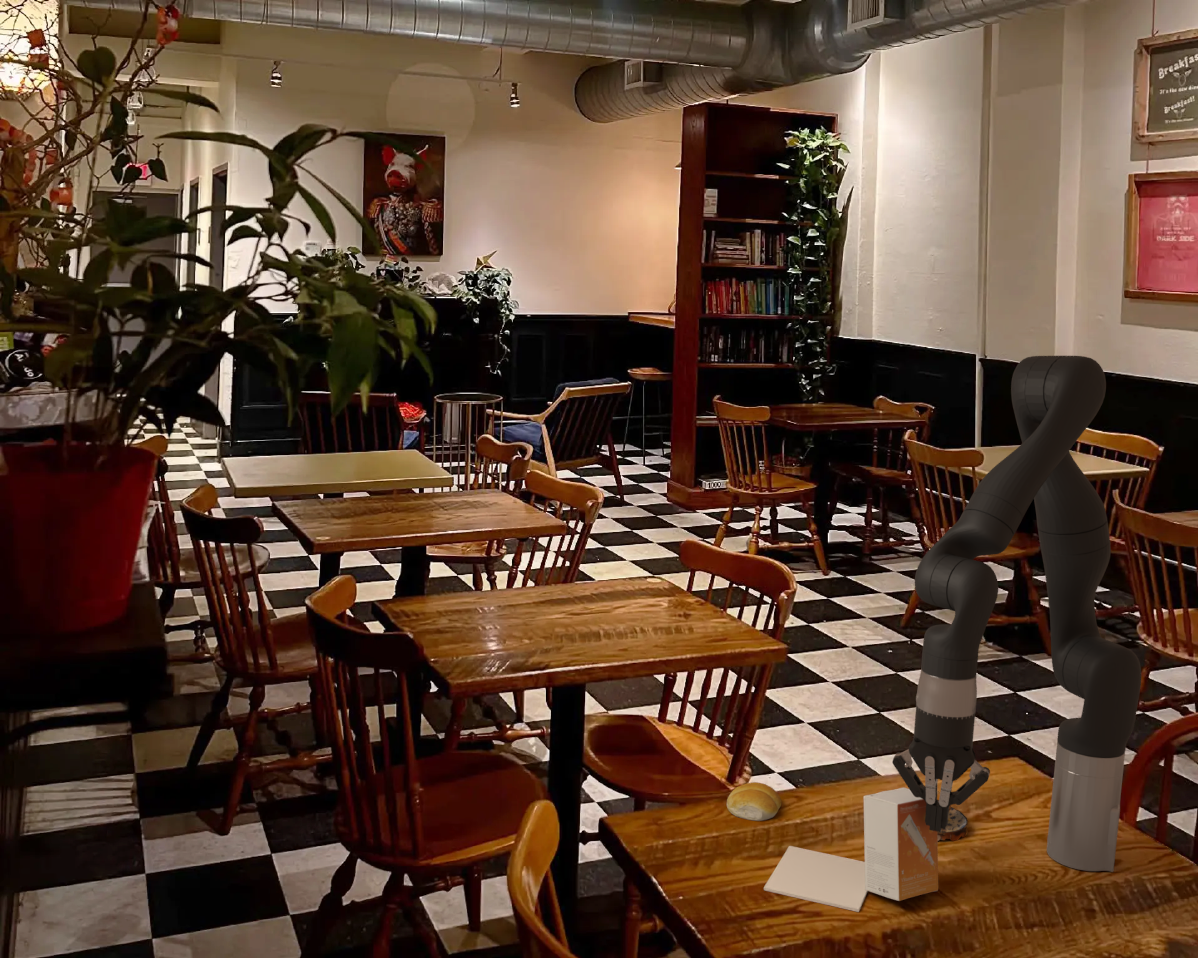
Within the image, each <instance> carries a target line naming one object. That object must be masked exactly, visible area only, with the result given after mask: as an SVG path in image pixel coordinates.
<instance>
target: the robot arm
mask: <svg viewBox="0 0 1198 958" xmlns="http://www.w3.org/2000/svg"><path fill="white" fill-rule="evenodd" d="M1011 377H1012V378H1011V383H1010V384H1011V385H1010V388H1011V389H1010V395H1011V404H1012V408H1013V413H1014V417H1015V421H1016V424H1017V428H1018V432H1019V436H1020V439H1021V440H1020V441H1021V444H1020V445H1019V446H1018V447H1017V448H1016V449H1015V450H1013V451H1012V452H1011V453H1010V454H1008V455H1007V456H1005V458H1003V459H1002V460H1001V461H1000V462H998V463H997V464H996V465H995V466H993V467H992V469H991V470H990V471H988V472H987V474H986V475H985V476H984V477H983V478H982V479H981V481H980V482H979V484H978V485H977V486H976V488H975V489H974V491H973V493H972V495H971V496H970V499H969V501H968V502H967V504H966V506H965V507H964V510H963V512H962V513H961V515H960V518H959V519H958V520H957V521H956V522H955V524H954V525H952V527H950V528H949V529H948V530H947V531H945V533H944V534H943V536H941V538H940V539H939V540H937V541H936V543H935V544H934V545H932V546H931V548H929V550H927V552H925V554H924V555H923V557H922V558H921V560H920V561H919V564H918V565H917V568H916V572H915V575H914V587H915V588H914V589H915V592H916V594H917V596H918V597H919V598H920V600H922V601H923V602H924V603H926V604H928V605H931V606H935V607H938V608H942V609H946V610H948V611H953V612H954V618H953V620H952V622H951V624H950V623H949V624H946V623H944V624H936V625H932V626H929V627H928V628H927V629H926V631H925V633H924V636H923V642H922V653H921V663H920V664H921V667H920V668H921V669H920V674H919V679H918V683H917V692H916V694H915V695H916V696H915V701H916V704H915V718H914V727H913V729H914V730H913V739H912V740H911V741H910V744H909V746H908V749H906V750H904V751H897V752H896V753H895V754H894V756H893V759H892V764H893V767H894V768H895V770H896V771H897V773H898V774H899V775H900V777H901V779H902V780H903V782H904V783H905V784H906V786H907V788H908V789H910V791H911V792H912V794H913V795H914V796H915V797H920V798H922V799H924V800H925V802H926V814H925V823H926V825H928V826H930V828H929V830H932V831H936V832H941V829H942V828H943V829H945V828H946V826H947V823H948V814H949V806H950V805H951V806H952V805H957V806H959V805H960V806H961V805H962V804H963V803H964V802H966V800H968V799H969V798H970V797H971V796H972V795H973V794H974V793H976V791H978V790H979V789H980V788H981V787H983V785H984V784H986V783H987V782H988V780H989V777H990V774H991V770H990V769H989V767H987V766H982V764H980V763H979V762H978V761H977V759H976V752H975V750H974V747H973V743H974V741H973V740H974V730H975V721H976V709H977V697H978V687H977V675H978V674H977V673H978V663H979V649H980V645H981V641H982V639H983V636H984V633H985V631H986V628H987V625H988V622H989V620H990V617H991V615H992V612H993V610H994V607H995V605H996V602H997V599H998V594H999V581H998V578H997V575H996V572H995V571H994V570H993V568H992V566H991V565H988V564H987V563H985V562H983V561H979V560H977V559H976V560H975V558H979V557H980V556H988V555H989V556H990V555H991V556H992V555H998V554H1001V553H1002V552H1004V551H1005V550H1006V549H1007V548H1008V546H1009V545H1010V543H1011V541H1012V539H1013V537H1014V536H1015V534H1016V532H1017V530H1018V528H1019V527H1020V524H1021V522H1022V520H1023V518H1024V516H1025V514H1026V513H1027V511H1028V509H1029V507H1030V506H1031V503H1032V502H1034V507H1035V508H1034V509H1035V514H1036V525H1037V526H1036V527H1037V532H1038V534H1037V535H1038V539H1039V545H1040V552H1041V557H1042V562H1043V568H1044V575H1045V585H1046V591H1047V600H1048V607H1049V620H1050V622H1049V623H1050V624H1049V625H1050V626H1049V627H1050V648H1051V649H1050V652H1051V665H1052V670H1053V671H1052V672H1053V674H1054V678H1055V679H1056V680H1057V683H1058V684H1059V685H1060V686H1061V687H1062V688H1063V689H1064V690H1065V691H1067V692H1068V693H1070V694H1073V695H1075V696H1076V697H1079V698H1081V699H1082V700H1083V706H1082V711H1081V715H1080V717H1071V718H1067V719H1065V720H1063V721H1061V723H1060V724H1059V726H1058V731H1057V737H1056V738H1057V741H1056V749H1055V751H1056V752H1055V759H1054V760H1055V762H1054V773H1053V781H1052V791H1051V802H1050V810H1049V811H1050V813H1049V823H1048V833H1047V839H1046V840H1047V843H1046V853H1047V855H1048V856H1049V857H1050V858H1051V859H1052V860H1053V861H1055V862H1057V863H1058V864H1061V865H1063V866H1065V867H1069V868H1071V869H1075V870H1078V871H1079V870H1081V871H1087V872H1101V871H1106V872H1112V873H1113V872H1114V870H1115V869H1114V868H1115V860H1116V850H1117V840H1118V832H1119V824H1120V823H1119V822H1120V814H1121V813H1120V812H1121V796H1122V795H1121V793H1122V786H1123V785H1122V783H1123V774H1124V769H1125V768H1124V765H1125V758H1126V757H1125V756H1126V749H1127V743H1128V741H1129V739H1130V738H1131V735H1132V733H1133V731H1134V727H1135V722H1136V718H1137V717H1136V716H1137V709H1138V705H1139V699H1140V695H1141V694H1140V693H1141V686H1142V668H1141V663H1140V659H1139V658H1138V656H1137V655H1136V653H1135V652H1133V650H1131V649H1130V648H1127V647H1125V646H1124V645H1121V644H1119V643H1116V642H1113V641H1111V640H1108V639H1105V638H1103V637H1102V636H1101V634H1100V631H1099V627H1098V624H1097V618H1096V609H1095V608H1096V607H1095V600H1096V599H1095V598H1096V593H1097V590H1098V587H1099V585H1100V583H1101V581H1102V579H1103V577H1104V575H1105V572H1106V570H1107V568H1108V565H1109V563H1110V559H1111V553H1112V552H1111V550H1112V549H1111V548H1112V547H1111V539H1110V532H1109V531H1110V530H1109V523H1108V516H1107V512H1106V507H1105V504H1104V502H1103V501H1102V499H1101V497H1100V495H1099V494H1098V492H1097V490H1096V489H1095V487H1094V486H1093V484H1092V483H1091V482H1090V481H1089V480H1090V479H1088V478H1087V476H1086V475H1085V473H1084V472H1083V471H1082V470H1081V468H1080V467H1079V465H1078V464H1077V462H1076V461H1075V460H1074V458H1073V455H1072V454H1071V452H1070V451H1071V449H1072V447H1073V445H1075V443H1076V442H1077V441H1078V439H1079V438H1080V437H1081V436H1082V434H1083V433H1084V432H1085V431H1086V430H1087V428H1088V426H1089V425H1090V424H1091V423H1092V422H1093V420H1094V419H1095V417H1096V416H1097V414H1098V412H1099V410H1100V409H1101V406H1102V405H1103V403H1104V400H1105V397H1106V390H1107V381H1106V375H1105V372H1104V370H1103V368H1102V366H1101V365H1100V363H1099V362H1097V360H1095V359H1093V358H1091V357H1087V356H1083V355H1032V356H1027V357H1025V358H1023V359H1022V360H1020V362H1018V364H1017V365H1016V367H1015V369H1014V371H1013V373H1012V376H1011ZM1033 500H1034V501H1033ZM912 759H913V760H912ZM913 761H914V763H915V765H916V766H917V768H918V770H920V773H921V774H922V775H923V776H924V778H925V779H924V781H925V783H923V781H922V780H921V779H920V777H919V776H918V774H917V773H916V771H915V769H914V767H912V764H913ZM969 769H971V770H970V772H969V775H968V777H969V779H967V781H965V782H964V783H963V784H962V785H961V786H960V787H959V788H958V789H957V790H956V791H953V790H952V788H953V784H954V782H956V781H957V780H959V779H960V777H962V776H963V775H964V774H965V773H966V772H967V771H968V770H969ZM938 780H941V786H940V791H939V792H940V798H939V800H937V791H938V783H939V782H938Z"/></svg>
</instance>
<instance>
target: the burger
mask: <svg viewBox="0 0 1198 958" xmlns="http://www.w3.org/2000/svg"><path fill="white" fill-rule="evenodd" d="M940 792H941V791H938V790H937V800H939V798H940ZM968 822H969V821H968V818H967V816H966V815H965V814H964V813H963V812H962V811H960V810H958V809H957V808H955V807H953V806H952V805H950V806H949V814H948V823H947V826H946V828H945V829H943V828H942V829H941V832H937V841H940V840H941V841H945V840H950V841H951V842H955V841H958V840H959V839H960V838H962V839H964V838H965V837H966V835H967V834H968Z"/></svg>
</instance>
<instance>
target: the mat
mask: <svg viewBox="0 0 1198 958" xmlns="http://www.w3.org/2000/svg"><path fill="white" fill-rule="evenodd" d="M763 891H766V892H770V893H774V894H779V895H783V896H788V897H792V898H797V899H801V900H805V901H809V902H812V903H813V902H814V903H818V904H822V905H826V906H832V907H835V908H840V909H844V910H849V911H853V912H856V913H859V912H860V910H861V908H862V905H863V903H864V901H865V899H866V896H867V894H868V892H869V891H867V890H865V861H862V860H857V859H852V858H849V857H848V858H847V857H844V856H839V855H834V854H829V853H825V852H821V851H816V850H813V849H812V850H811V849H808V848H807V849H805V848H802V847H797V846H793V845H789V846H788V847H787V849H786V850H785V853H784V854H783V855H782V858H781V859H780V861H779V862H778V864H777V866H776V867H775V869H774V871H773V872H772V873H771V875H770V877H769V878H768V880H767V881H766V883H765V885H764V887H763Z"/></svg>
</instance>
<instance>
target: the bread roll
mask: <svg viewBox="0 0 1198 958" xmlns="http://www.w3.org/2000/svg"><path fill="white" fill-rule="evenodd" d="M781 806H782V799H781V797H780V795H779V793H778V792H777V791H776V790H775V788H773V787H772V786H770V785H768V784H766V783H761V782H758V781H757V782H755V781H754V782H753V781H752V782H747V783H743V784H741V785H738V786H736V787H735V788H734V789H733V790H732V791H731V792H730V794H729V795H728V796H727V799H726V807H727V810H728V812H730V813H731V815H733V816H735V817H737V818H740V819H744V820H748V821H755V822H756V821H757V822H760V821H766V820H769V819H772V818H774V817H775V816H776V815H777V813H778V812H779V809H780V808H781Z"/></svg>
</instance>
